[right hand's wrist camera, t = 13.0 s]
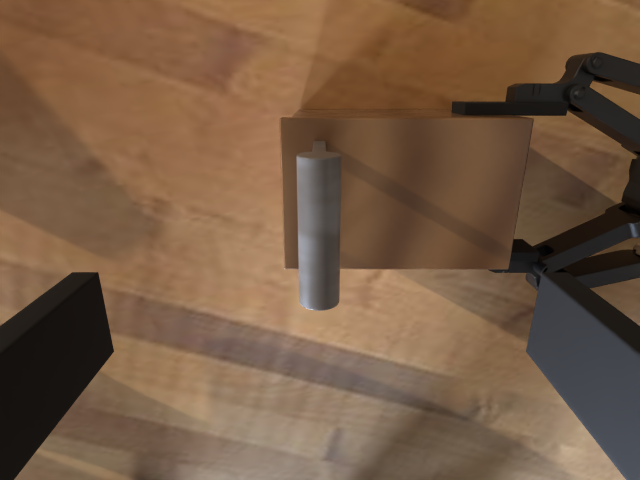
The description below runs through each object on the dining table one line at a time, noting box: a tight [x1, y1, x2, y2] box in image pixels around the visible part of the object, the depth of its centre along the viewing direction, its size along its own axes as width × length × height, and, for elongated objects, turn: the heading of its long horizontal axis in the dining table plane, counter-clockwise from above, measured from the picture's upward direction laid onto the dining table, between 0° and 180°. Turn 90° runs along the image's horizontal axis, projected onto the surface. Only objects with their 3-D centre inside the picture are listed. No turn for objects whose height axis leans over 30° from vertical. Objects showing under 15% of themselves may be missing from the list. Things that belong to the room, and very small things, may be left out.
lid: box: [280, 117, 533, 311], centre depth 22 cm, size 14×9×8 cm, turn 90°
